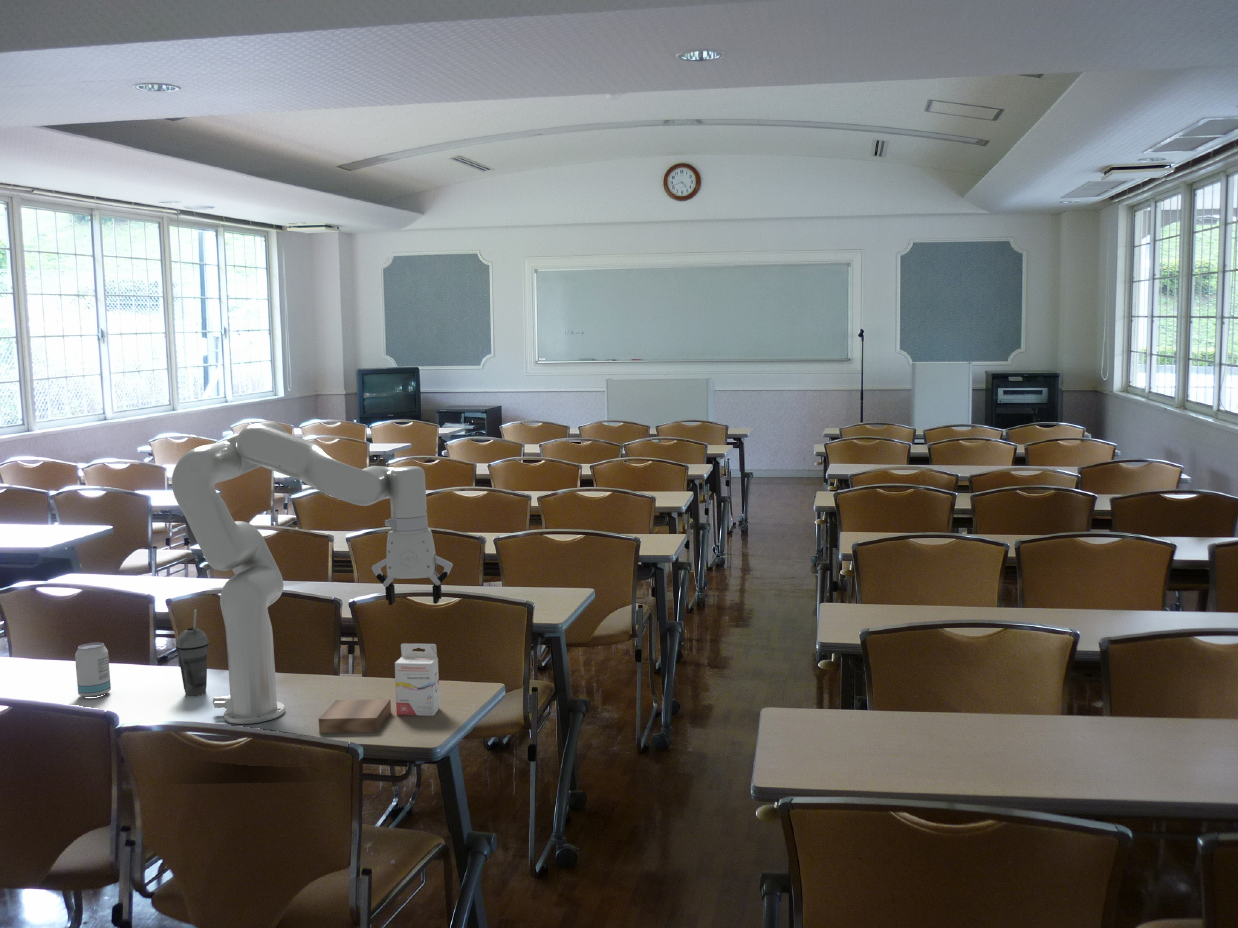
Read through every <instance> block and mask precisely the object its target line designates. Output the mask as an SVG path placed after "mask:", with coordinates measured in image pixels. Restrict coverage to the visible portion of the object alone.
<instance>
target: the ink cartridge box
mask: <svg viewBox="0 0 1238 928" xmlns="http://www.w3.org/2000/svg"><path fill="white" fill-rule="evenodd" d="M418 648H419V649H420V650H421V649H422V650H424V651H415V650H417V649H418ZM437 651H438V650H437V644H436V643H401V644H400V653H401V656H400V658H398V659H397V660H396V661H395V662H394V677H395V678H394V682H395V702H396V704H395V706H396V708H395V709H396V716H420V717H421V716H422V717H423V716H424V717H425V716H428V717H429V716H430V717H431V716H432V717H433V716H435V715H436V714H437V712H438V711H439V710H440V708H441V705H440V703H441V702H440V682H439V681H440V680H439V679H440V678H439V657H438V652H437Z"/></svg>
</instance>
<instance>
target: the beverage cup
mask: <svg viewBox="0 0 1238 928" xmlns="http://www.w3.org/2000/svg"><path fill="white" fill-rule="evenodd" d="M197 611H198V609H196V608H194V611H193V623H192V625H193V627H190V628H186V629H184V630H183V631H182V632H180V634H179V635H178V636H177V640H176V641H175V642H176V644H175V645H176V646H175V649H176V652H177V653H176V654H177V656H178V660H179V665H180V671H181V672H180V673H181V678H182V683H183V689H184V693H185V694H184V695H185V696H186V697H188V696H194V697H199V695H200V696H203V695H205V694H206V693H207V684H208V681H207V680H208V679H207V678H208V677H207V676H208V653H209V644H210V643H209V639H208V636H207V634H206V633H205V632H204V631H203V630H201V629H200V628H197ZM202 694H203V695H202Z"/></svg>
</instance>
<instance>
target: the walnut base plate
mask: <svg viewBox="0 0 1238 928" xmlns="http://www.w3.org/2000/svg"><path fill="white" fill-rule="evenodd" d="M391 714H392V703H391V699H390V698H384V699H383V698H381V699H380V698H378V699H377V698H376V699H374V698H373V699H336V700H334V701H333V702H332V703H331V705H330V706H329V707H328V708H327V709H326V710H325V711H324V713H323V714H321V716H320V717H319V718H318V728H319V729H318V730H319V731H318V732H319V734H334V733H335V734H339V733H341V734H342V733H347V734H349V733H378V732H379V730H380V729H381V727H382V726H383V725H384V723H385V722H386V720H387V719H388V718H389V716H390V715H391ZM387 717H388V718H387Z"/></svg>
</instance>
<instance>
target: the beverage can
mask: <svg viewBox="0 0 1238 928" xmlns="http://www.w3.org/2000/svg"><path fill="white" fill-rule="evenodd" d="M74 658H75V659H74V661H75V669H76V671H75V672H76V684H77V686H76V687H77V694H78V696H80V697H82V698H84V697H97V696H101V695H104V694H106V693H107V694H108V693H109V692H110V691H111V690H112V687H111V685H112V684H111V673H110V659H109V650H108V649H107V647H106V646H105V643H104V642H89V643H83V644H81V645H79V646H77V649H76V652H75V655H74ZM107 694H106V695H107Z"/></svg>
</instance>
